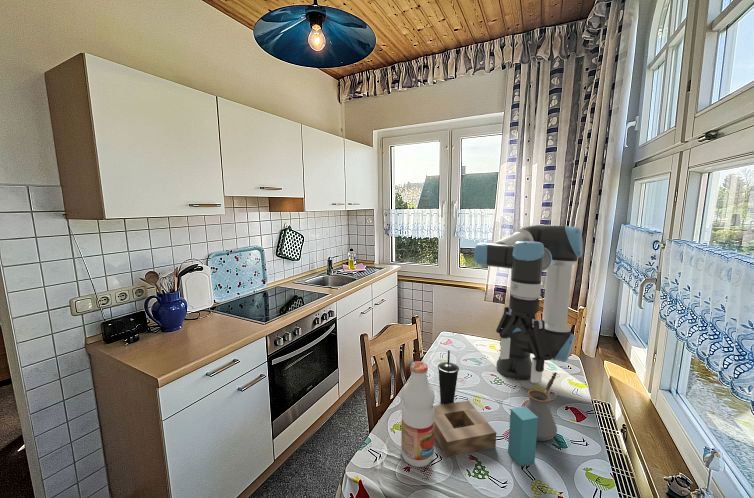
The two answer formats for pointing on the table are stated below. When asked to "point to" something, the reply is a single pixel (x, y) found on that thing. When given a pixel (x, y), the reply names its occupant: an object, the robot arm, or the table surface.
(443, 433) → the socket block
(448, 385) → the drinking cup
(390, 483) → the table surface
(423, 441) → the fruit juice
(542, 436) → the coffee pot
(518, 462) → the peg
